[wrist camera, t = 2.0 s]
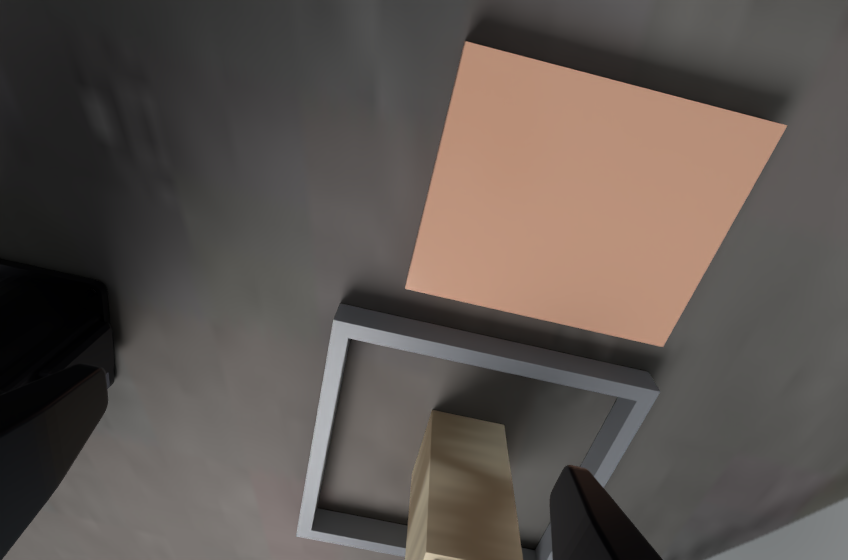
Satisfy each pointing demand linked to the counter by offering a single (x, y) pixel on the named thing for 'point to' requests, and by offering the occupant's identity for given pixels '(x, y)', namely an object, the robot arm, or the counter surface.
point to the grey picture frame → (474, 350)
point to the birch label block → (462, 493)
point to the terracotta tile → (580, 195)
